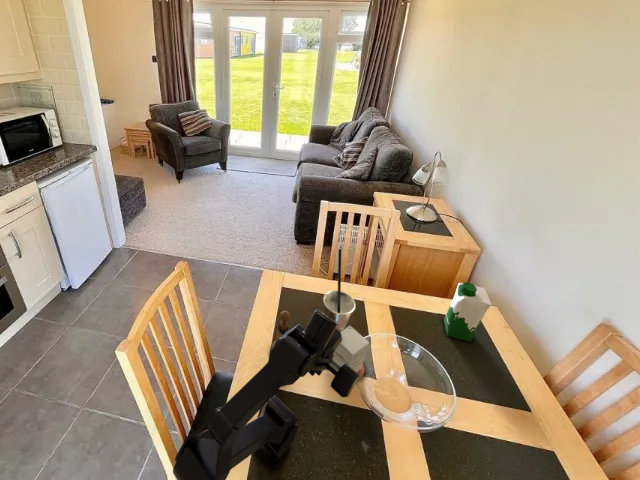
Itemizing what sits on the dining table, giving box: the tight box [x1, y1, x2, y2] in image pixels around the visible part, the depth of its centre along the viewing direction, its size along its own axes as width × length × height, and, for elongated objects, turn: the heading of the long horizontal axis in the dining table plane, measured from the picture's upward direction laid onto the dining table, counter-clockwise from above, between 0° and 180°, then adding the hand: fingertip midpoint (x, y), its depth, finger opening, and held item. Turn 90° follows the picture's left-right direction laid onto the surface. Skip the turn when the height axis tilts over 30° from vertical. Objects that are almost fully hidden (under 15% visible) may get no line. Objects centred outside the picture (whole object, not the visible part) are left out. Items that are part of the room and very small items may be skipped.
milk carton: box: [443, 281, 493, 343], centre depth 105 cm, size 9×9×20 cm
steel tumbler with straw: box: [323, 248, 357, 332], centre depth 101 cm, size 11×11×30 cm
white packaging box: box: [330, 325, 370, 372], centre depth 94 cm, size 7×7×13 cm
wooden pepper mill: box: [270, 310, 291, 351], centre depth 96 cm, size 7×6×18 cm
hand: (331, 359), depth 84 cm, fingers open, 9 cm apart
